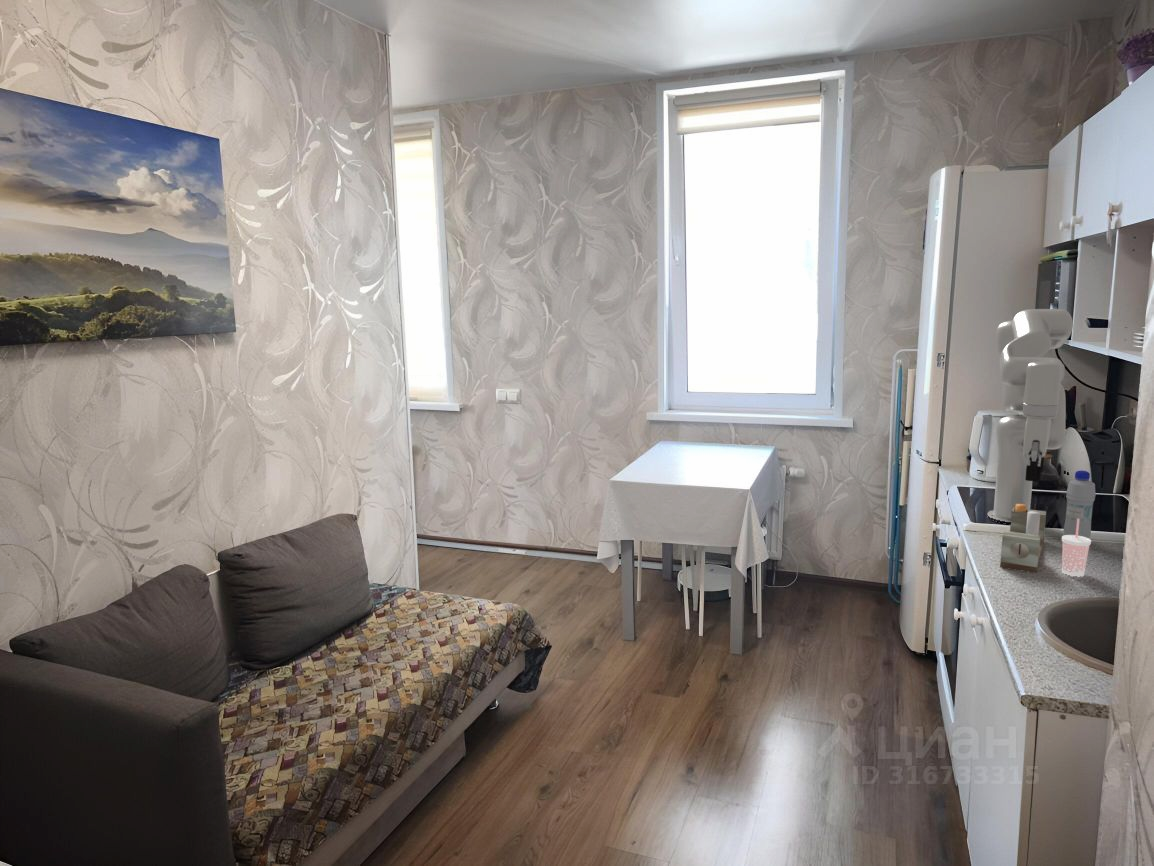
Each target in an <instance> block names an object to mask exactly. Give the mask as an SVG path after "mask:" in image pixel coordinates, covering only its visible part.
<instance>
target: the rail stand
mask: <svg viewBox="0 0 1154 866" xmlns="http://www.w3.org/2000/svg"><path fill="white" fill-rule="evenodd" d="M1029 511H1034V512H1039V513H1040V524H1039V535H1032V534H1026V525H1027V514H1028V512H1029ZM1046 518H1047V511H1046V510H1036V509H1031V508H1030V509H1026V512H1018V511H1015V508H1013V509H1012V514H1011V524H1010V527H1009V531H1008V530H1004V531H1003V533H1002V537H1001V538H1002V541H1001V549H1000V550H1001V551H1000V560H999V563H1000V564H999V568H1001V567H1002V568H1003V569H1007V568H1010V569H1009V570H1014V569H1016V571H1020V570H1023V571H1022V572H1027V571H1029V572H1028V573H1033V572H1035V573H1034V574H1038V568H1039V564H1040V559H1041V555H1042V550H1043V545H1044V541H1045V529H1046ZM1002 568H1001V569H1002Z"/></svg>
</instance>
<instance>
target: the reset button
mask: <svg viewBox="0 0 1154 866" xmlns="http://www.w3.org/2000/svg"><path fill="white" fill-rule="evenodd" d="M1026 506H1027V505H1025V504H1016V507H1015V511H1018V512H1026Z"/></svg>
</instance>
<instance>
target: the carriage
mask: <svg viewBox="0 0 1154 866" xmlns="http://www.w3.org/2000/svg"><path fill="white" fill-rule="evenodd" d="M1039 524H1040V513H1039V512H1034V511H1029V512H1028V514H1027V525H1026V534H1032V535H1039Z"/></svg>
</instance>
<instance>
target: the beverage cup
mask: <svg viewBox="0 0 1154 866" xmlns="http://www.w3.org/2000/svg"><path fill="white" fill-rule="evenodd" d="M1079 520H1080V519H1077V527H1076V535H1064V534H1063V535H1062V536H1061V542H1062V551H1061V552H1062V555H1061V558H1062V561H1061V573H1062V574H1063V573H1064V574H1063V575H1065V574H1067V575H1066V576H1068V575H1070V576H1069V577H1073V576H1077V577H1076V578H1082V577H1084V576H1085V572H1086V567H1087V561H1088V555H1089V549H1090V546H1091V544H1092V540H1091V538H1087V537H1083V536H1078V530H1079ZM1080 576H1081V577H1080Z"/></svg>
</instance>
